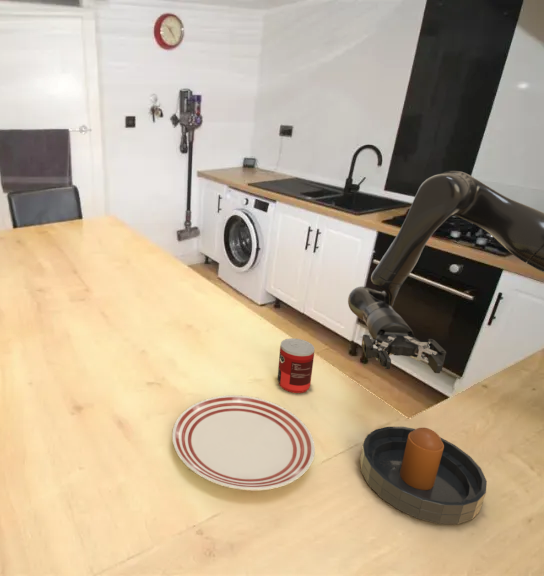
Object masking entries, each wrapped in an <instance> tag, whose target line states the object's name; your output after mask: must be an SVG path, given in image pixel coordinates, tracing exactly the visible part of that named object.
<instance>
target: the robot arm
mask: <svg viewBox="0 0 544 576" xmlns="http://www.w3.org/2000/svg"><path fill="white" fill-rule="evenodd" d="M451 216H455V217H458V218H460V219H463V220H465V221H466V222H469V223H471V224H474V225H476V227H479V228H480V229H482V230H484V231H485V232H486V233H488V234H489V235H490V236H492V237H493V238H494V239H495V240H496V241H497V242H498V244H500V245H501V246H502V247H503V248H504V249H505V250H507V251H508V252H509V253H510V254H512V255H513V256H514V257H516V258H517V259H518V260H521V261H522V262H523V263H525V264H527V265H528V266H531V267H532V268H534V269H536V270H538V271H540V272H542V273H544V212H543V211H541V210H539V209H536V208H534V207H531V206H529V205H527V204H523V203H522V202H518V201H516V200H514V199H512V198H509V197H507V196H505V195H503V194H502V193H500V192H498V191H496V190H495V189H494V188H491V187H489V186H488V185H486V184H485V183H483V182H482V181H481V180H478V179H477V178H475V177H474V176H472V175H470V174H468V173H466V172H463V171H460V170H447V171H444V172H441V173H437V174H434V175H432V176H430V177H428V178H426V179H425V180H424V181H423V182H422V183H421V184H420V186H419V187H418V190H417V192H416V194H415V196H414V198H413V200H412V203H411V205H410V208H409V210H408V213H407V214H406V217H405V218H404V221H403V223H402V225H401V227H400V228H399V231H398V232H397V234H396V236H395V238H394V239H393V241H392V242H391V244H390V245H389V247H388V249H387V250H386V252H385V253H384V255H382V258H381V259H380V261H379V262H378V264H377V265H376V267H375V268H374V270H373V271H372V273H371V276H370V280H371V282H372V284H373V285H375V287H377V288H378V289H380V290H382V291H379V290H376V289H373V288H370V287H367V286H356V287H355V288H353V289H352V290H351V291H350V293H349V294H348V297H347V305H348V308H349V310H350V311H351V312H352V313H353V314H354V315H355V316H356V317H358V319H360V320H362V322H364V323H365V325H366V326H367V330H368V333H369V335H368V334H363V335H362V339H361V347H362V348H361V349H362V352H363V353H364V356H365V358H367V359H372V358H374V359H375V360H376V361H378V363H379V365H380V366H381V367H383V368H384V369H385V370H391V365H392V359H391V356H403V357H409V358H411V359H413V360H415V361H417V362H420V361H422V362H424V363H426V364H427V365H428V366H429V368H430V369H431V370H432V372H433V373H434V374H441V372H442V371H443V368H444V363H445V358H446V355H447V350H445V349H444V348H443V347H442V346H441V345H440V344H439V343H438V342H437V341H436V340H435V339H433V338H428V339H427V341H420V340H419V339H418V338H416V336H415V335H414V334H415V333H414V331H413V330H412V328H411V327H410V326H409V325H408V323H407V322H406V321H405V320H404V318H403V317H402V316H401V315H400V314H399V313H398V312H397V311H396V310H395V309H394V306H395V302H396V299H397V296H398V294H399V291H400V289H401V287H402V286H403V284H404V283H405V281H406V280H407V279H408V277H409V276H410V275H411V273H412V271H413V270H414V268H415V266H416V265H417V263H418V261H419V259H420V258H421V254H422V253H423V250H424V248H425V246H426V245H427V243H428V242H429V240H430V238H431V237H432V236H433V234H434V233H435V232H436V231H437V230H438V229H439V228H440V227H441V226H442V225H443V224H444V223H445V221H447V220H448V219H449V218H450V217H451ZM370 336H371V337H370ZM374 346H375V347H374ZM416 353H417V354H416ZM426 354H428V357H427V356H426Z"/></svg>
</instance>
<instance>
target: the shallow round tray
mask: <svg viewBox="0 0 544 576" xmlns="http://www.w3.org/2000/svg"><path fill="white" fill-rule="evenodd" d="M415 429H416V428H413V427H407V426H384V427H380V428H375V429H374V430H372V431H371V432H370V433H368V434H367V435H366V437H365V439H364V441H363V443H362V448H361V452H360V459H359V463H360V472H361V474H362V476H363V478H364V479H365V482H366V484H367V485H368V486H369V488H371V489H372V490H373V491H374V492H375V493H376V495H377V496H378V497H379V498H381V499H382V500H383V501H384V502H386V503H388V504H389V505H390V506H392V507H394V508H395V509H396V510H398V511H401V512H403V513H405V514H407V515H409V516H411V517H413V518H416V519H418V520H421V521H422V520H423V521H426V522H430V523H434V524H437V525H459V524H463V523H466V522H468V521H471V520H473V519H474V518H475V517H476V516H477V515H478V513H479V512H480V511H481V509H482V505H483V502H484V499H485V496H486V494H487V485H488V483H487V482H488V481H487V479H486V477H485V473H484V472H483V470H482V468H481V467H480V466H479V465H478V463H477V462H476V461H475V460H474V459H473V458H472V456H470V455H469V454H468V453H467V452H465V451H464V450H462V449H461V448H460V447H458V446H457V445H456V444H454V443H452V442H450V441H448V440H446V439H444V438H442V437H440V438H441V441H442V442H443V444H444V449H443V453H442V457H441V460H440V464H439V468H438V471H437V475H436V479H435V483H434V486H433V488H432V489H430V490H419V489H416V488H413V487H411V486H410V485H408V484H407V483H405V482H404V481H403V479H402V478H401V476H400V470H401V465H402V461H403V457H404V452H405V448H406V444H407V439H408V435H409V433H410V432H412V431H414V430H415Z"/></svg>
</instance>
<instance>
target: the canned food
mask: <svg viewBox="0 0 544 576" xmlns="http://www.w3.org/2000/svg"><path fill="white" fill-rule="evenodd" d="M314 358H315V346H314V344H312V343H311V342H309V341H308V340H305V339H301V338H295V337H294V338H286V339H283V340H281V342H280V346H279V356H278V368H277V384H278V386H279V388H281V389H282V390H284V391H286V392H289V393H292V394H303V393H306V392H308V391H309V389H310V388H311V383H312V374H313V367H314V360H315V359H314Z"/></svg>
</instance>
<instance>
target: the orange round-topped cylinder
mask: <svg viewBox="0 0 544 576" xmlns="http://www.w3.org/2000/svg"><path fill="white" fill-rule="evenodd" d="M414 429H415V430H414V431H412V432H410V433H409V435H408V439H407V444H406V448H405V452H404V457H403V461H402V465H401V470H400V476H401V478H402V479H403V481H404V482H405V483H407V484H408V485H410V486H411V487H413V488H416V489H419V490H430V489H432V488H433V486H434V483H435V479H436V475H437V471H438V468H439V464H440V460H441V457H442V453H443V449H444V444H443V442H442V441H441V438H442V437H441V436H440V435H439V434H438V433H437V432H436V431H434V430H433V429H430V428H427V427H418V428H414Z"/></svg>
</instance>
